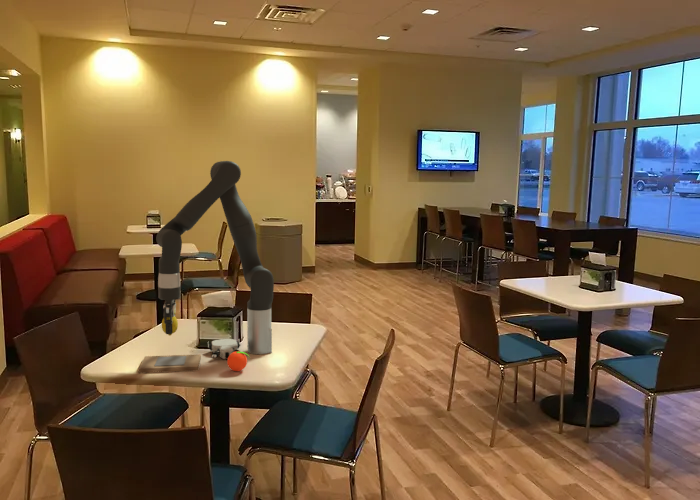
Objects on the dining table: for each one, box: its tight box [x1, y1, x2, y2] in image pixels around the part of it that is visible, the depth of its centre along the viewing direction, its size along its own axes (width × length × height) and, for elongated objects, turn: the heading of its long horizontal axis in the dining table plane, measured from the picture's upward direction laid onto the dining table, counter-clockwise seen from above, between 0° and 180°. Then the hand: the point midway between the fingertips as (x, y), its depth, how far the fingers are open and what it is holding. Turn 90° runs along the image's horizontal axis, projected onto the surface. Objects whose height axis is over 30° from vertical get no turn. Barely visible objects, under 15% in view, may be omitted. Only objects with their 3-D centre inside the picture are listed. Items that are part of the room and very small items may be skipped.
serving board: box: [138, 353, 202, 374], centre depth 214 cm, size 20×14×2 cm
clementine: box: [226, 350, 251, 372], centre depth 209 cm, size 8×7×7 cm
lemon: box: [161, 315, 179, 337], centre depth 212 cm, size 6×6×8 cm
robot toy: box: [207, 338, 241, 360], centre depth 227 cm, size 12×4×15 cm
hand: (170, 331), depth 212 cm, fingers closed on lemon, 5 cm apart
